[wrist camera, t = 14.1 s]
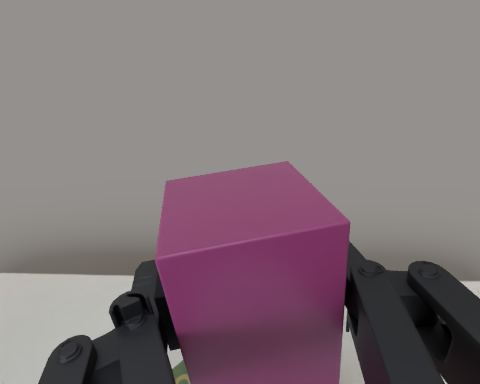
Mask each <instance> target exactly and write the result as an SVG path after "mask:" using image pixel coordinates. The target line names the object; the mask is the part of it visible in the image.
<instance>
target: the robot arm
mask: <svg viewBox="0 0 480 384" xmlns="http://www.w3.org/2000/svg"><path fill="white" fill-rule="evenodd" d="M344 305H345V306H346V308H347V322H346V332H349V327H350V331H351V334H352V338H353V341H354V345H355V349H356V352H357V356H358V360H359V363H360V367H361V370H362V374H363V378H364V381H365V384H445V383H444V381H443V379H442V377H443V378H444V380H445V381H446V382H447V383H448V384H480V299H479V298H478V297H477V296H476V295H475V294H474V293H472V292H471V291H470V290H469V289H468V288H466V287H465V286H464V285H463V284H462V283H461V282H459V281H458V280H457V279H456V278H455V277H453V276H452V275H451V274H450V273H449V272H448V271H446V270H445V269H443V268H442V267H440V266H439V265H437V264H434V263H431V262H426V261H416V262H413V263H411V264H410V265H409V268H408V271H389V270H385V268H384V267H383V266H382V265H380V264H379V263H377V262H374V261H371V260H366V259H365V258H364V257H363V256H362V254H360V252H359V251H358V250H357V249H356V248H355V247H354V246H353V245H352V244H351V243H350V241H349V247H348V261H347V276H346V290H345V304H344ZM109 314H110V316H111V318H112V321H113V323H114V326H115V329H113V330H112V331H110V332H109V333H107V334H105V335H103V336H101V337H99V338H97V339H94V340H91V339H90V337H88V336H85V335H78V336H74V337H71V338H69V339H67V340H65V341H64V342H62V343H61V344H59V345H58V346H57V347H56V348H55V349H54V350H53V352H52V353H51V355H50V357H49V358H48V361H47V363H46V366H45V368H44V371H43V373H42V376H41V378H40V380H39V383H38V384H176V382H175V378H174V375H173V371H172V368H171V364H170V361H169V358H168V355H167V347H168V345H169V348H170V351H171V350H176V349H180V346H179V342H178V339H177V335H176V332H175V328H174V325H173V321H172V318H171V314H170V311H169V307H168V304H167V301H166V297H165V294H164V290H163V287H162V283H161V280H160V276H159V273H158V269H157V266H156V262H155V260H152V261H147V262H142V263H141V264H140V266H139V267H138V268H137V270H136V271H135V276H134V281H133V285H132V289H131V291H129V292H126V293H124V294H122V295H120V296H119V297H118V298H117V299H115V300H114V301H113V303H112V304H111V306H110V309H109ZM440 374H441V375H440ZM441 376H442V377H441Z"/></svg>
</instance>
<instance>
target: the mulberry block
mask: <svg viewBox="0 0 480 384" xmlns="http://www.w3.org/2000/svg"><path fill="white" fill-rule="evenodd" d="M349 233H350V221H349V220H348V219H347V218H346V217H345V216H344V215H343V214H342V213H341V212H340V211H339V210H338V209H337V208H336V207H335V206H334V205H333V204H332V203H330V202H329V201H328V200H327V199H326V198H325V197H324V196H323V195H322V194H321V193H320V192H319V191H318V190H317V189H316V188H315V187H314V186H313V185H312V184H311V183H309V181H308V180H307V179H306V178H304V176H303V175H301V174H300V173H299V172H298V171H297V170H296V169H295V168H294V167H293V166H292V165H291V164H290V163H289V162H288V161H286V162H280V163H274V164H268V165H262V166H255V167H249V168H243V169H237V170H231V171H225V172H219V173H213V174H206V175H200V176H194V177H188V178H182V179H175V180H170V181H166V184H165V191H164V198H163V206H162V213H161V219H160V227H159V234H158V241H157V248H156V255H155V262H156V266H157V269H158V273H159V276H160V280H161V283H162V287H163V290H164V294H165V297H166V301H167V304H168V307H169V311H170V314H171V318H172V321H173V325H174V328H175V332H176V335H177V339H178V342H179V346H180V349H181V353H182V356H183V359H184V363H185V366H186V370H187V373H188V377H189V380H190V384H339V376H340V361H341V347H342V333H343V318H344V304H345V290H346V276H347V261H348V247H349Z"/></svg>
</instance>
